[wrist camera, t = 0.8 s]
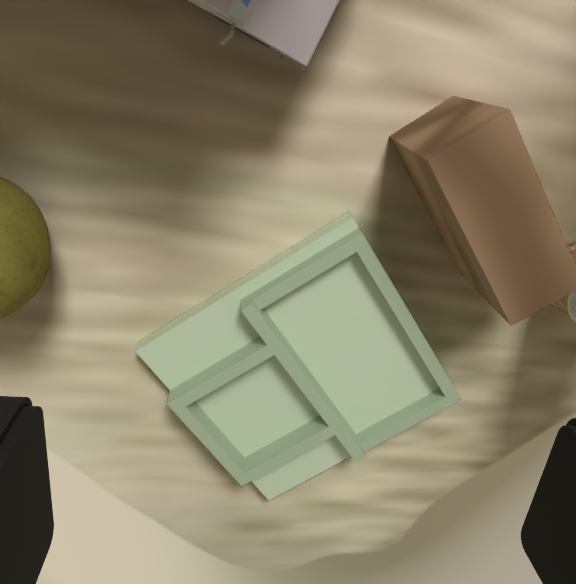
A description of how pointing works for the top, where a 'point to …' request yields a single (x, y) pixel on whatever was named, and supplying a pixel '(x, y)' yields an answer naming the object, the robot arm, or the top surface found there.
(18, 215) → the apple
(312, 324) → the jig
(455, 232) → the brown cuboid brick
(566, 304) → the sprinkles bottle
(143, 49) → the top surface
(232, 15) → the toy vehicle
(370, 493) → the top surface
